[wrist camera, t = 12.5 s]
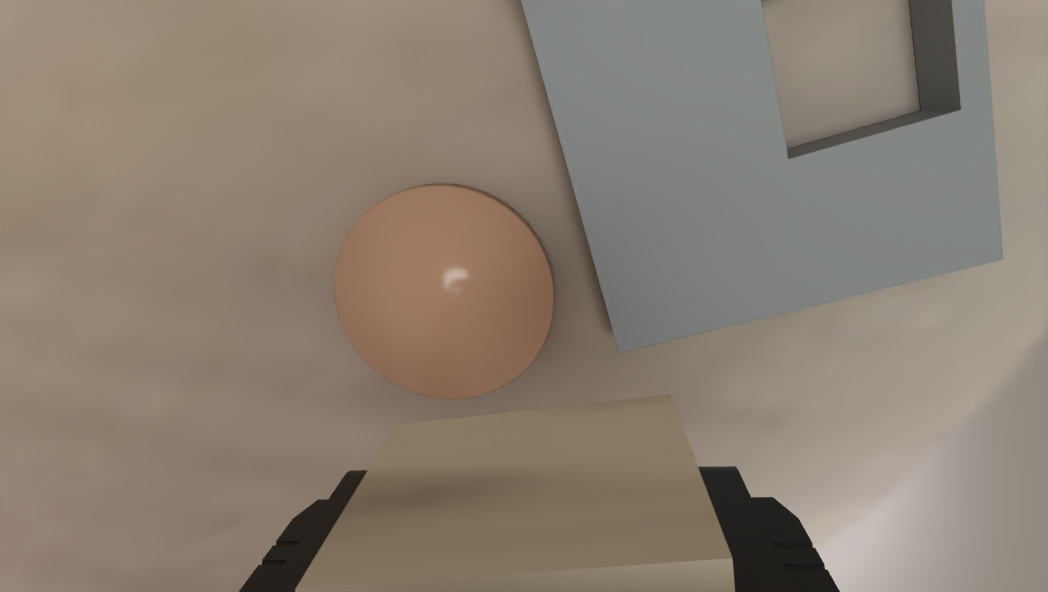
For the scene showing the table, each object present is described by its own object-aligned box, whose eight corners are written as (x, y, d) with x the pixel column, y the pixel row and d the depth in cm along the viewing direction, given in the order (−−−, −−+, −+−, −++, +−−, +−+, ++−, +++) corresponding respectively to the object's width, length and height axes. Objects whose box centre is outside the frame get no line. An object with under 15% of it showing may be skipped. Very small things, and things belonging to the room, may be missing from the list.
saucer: (579, 360, 27) (579, 371, 26) (388, 407, 29) (380, 419, 28) (517, 155, 25) (514, 157, 23) (311, 219, 26) (299, 223, 25)
